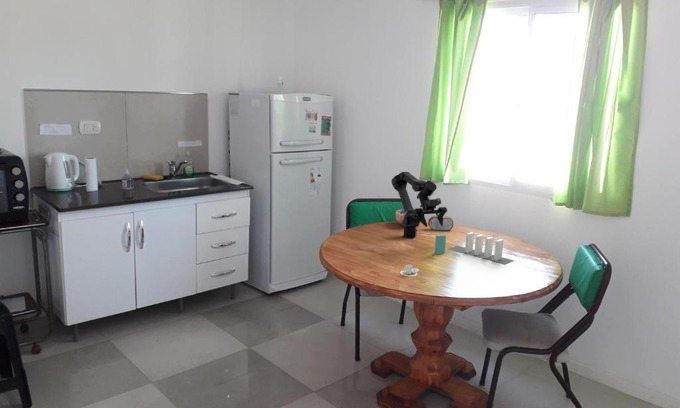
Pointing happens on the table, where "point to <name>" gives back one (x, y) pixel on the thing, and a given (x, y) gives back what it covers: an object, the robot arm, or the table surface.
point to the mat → (462, 250)
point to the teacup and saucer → (409, 270)
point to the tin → (436, 225)
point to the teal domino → (440, 244)
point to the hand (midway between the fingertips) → (434, 226)
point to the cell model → (400, 215)
